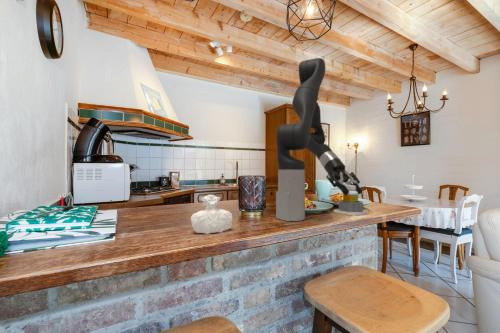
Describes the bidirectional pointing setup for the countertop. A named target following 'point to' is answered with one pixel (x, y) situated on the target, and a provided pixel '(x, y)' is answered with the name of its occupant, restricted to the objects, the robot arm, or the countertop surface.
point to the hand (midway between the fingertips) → (354, 193)
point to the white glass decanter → (211, 217)
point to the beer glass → (351, 195)
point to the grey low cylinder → (351, 208)
